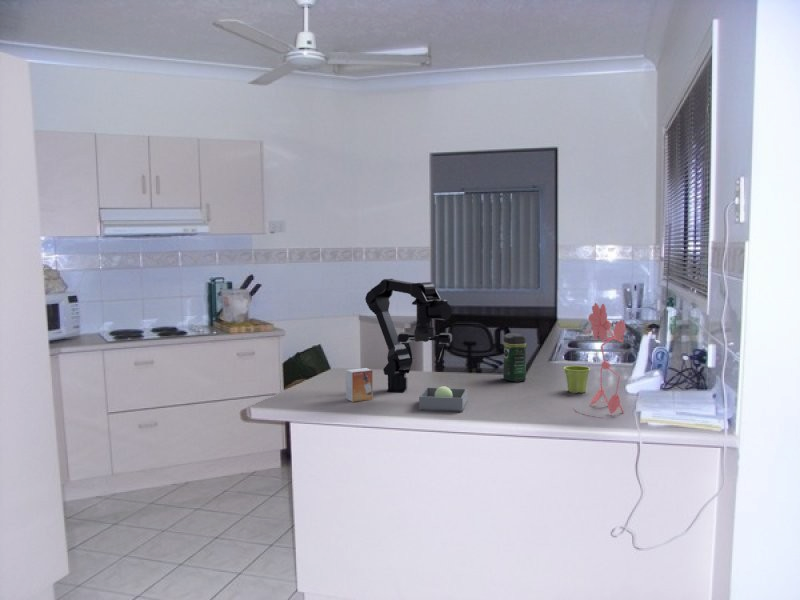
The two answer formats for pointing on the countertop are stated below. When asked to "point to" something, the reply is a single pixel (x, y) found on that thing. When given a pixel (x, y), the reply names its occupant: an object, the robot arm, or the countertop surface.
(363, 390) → the small box
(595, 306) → the figurine
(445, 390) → the ball
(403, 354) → the robot arm
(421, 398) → the bin
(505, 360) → the coffee jar
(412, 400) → the countertop surface
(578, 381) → the plant pot
